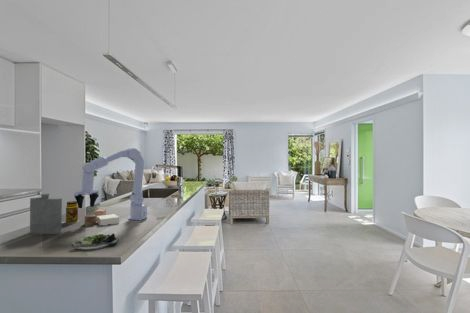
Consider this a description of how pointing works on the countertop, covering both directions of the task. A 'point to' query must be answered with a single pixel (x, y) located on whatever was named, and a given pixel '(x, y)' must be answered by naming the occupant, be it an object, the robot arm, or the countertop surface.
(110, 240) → the salad plate
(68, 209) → the condiment
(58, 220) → the hip flask
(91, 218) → the walnut cube
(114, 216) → the base block
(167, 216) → the countertop surface
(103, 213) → the terracotta block
